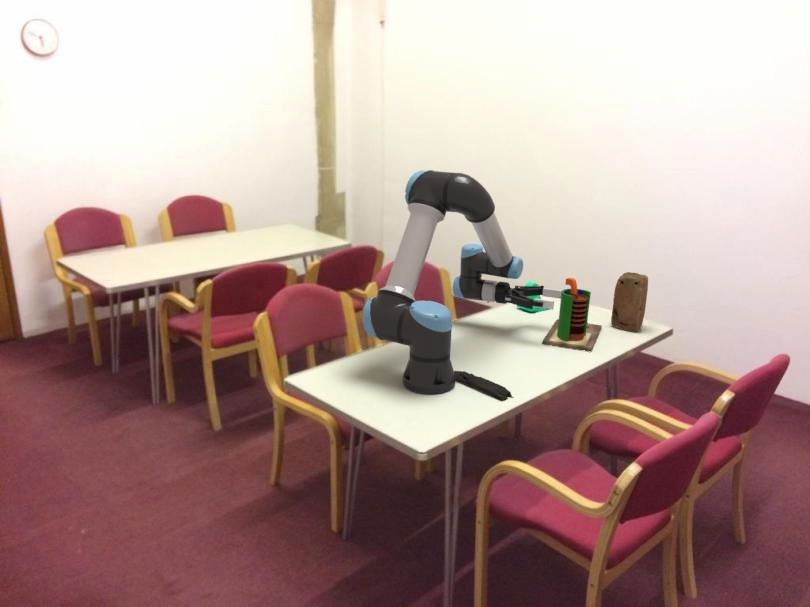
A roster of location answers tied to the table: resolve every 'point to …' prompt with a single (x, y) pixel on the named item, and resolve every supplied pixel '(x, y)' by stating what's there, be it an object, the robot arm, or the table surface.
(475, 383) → the wood
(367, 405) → the table surface
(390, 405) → the table surface
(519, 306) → the camera mount
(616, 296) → the block
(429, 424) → the table surface
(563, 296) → the motor
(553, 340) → the mounting board
